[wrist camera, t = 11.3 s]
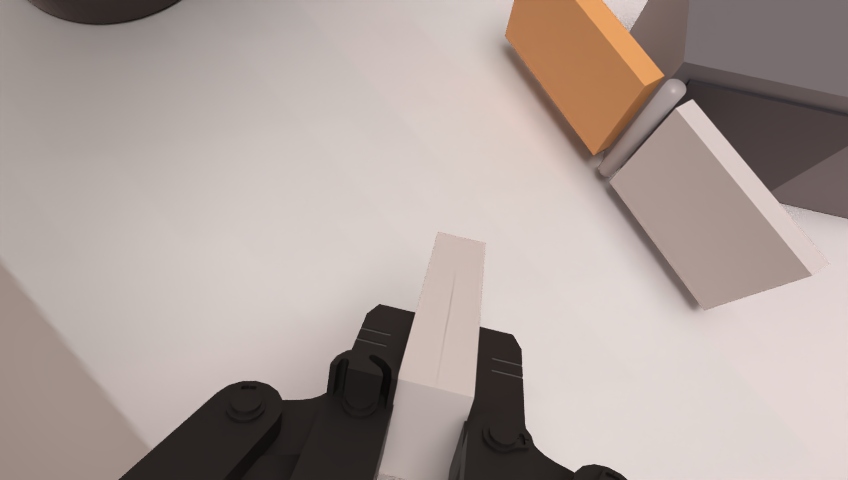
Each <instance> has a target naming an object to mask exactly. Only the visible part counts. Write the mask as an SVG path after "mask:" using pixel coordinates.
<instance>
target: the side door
mask: <svg viewBox="0 0 848 480" xmlns="http://www.w3.org/2000/svg"><path fill="white" fill-rule="evenodd" d="M505 36H506V38H507V39H508V41H509V42H510V43H511V45H512V46H513V47H514V49H515V50H516V51H517V53H518V54H519V55H520V57H521V58H522V59H523V61H524V62H525V63H526V65H527V66H528V68H529V69H530V70H531V72H532V73H533V74H534V76H535V77H536V78H537V80H538V81H539V82H540V84H541V85H542V86H543V88H544V89H545V91H546V92H547V93H548V95H549V96H550V97H551V99H552V100H553V101H554V103H555V104H556V105H557V107H558V108H559V109H560V111H561V112H562V113H563V115H564V116H565V118H566V119H567V120H568V122H569V123H570V124H571V126H572V127H573V128H574V130H575V131H576V132H577V134H578V135H579V136H580V138H581V139H582V140H583V142H584V143H585V145H586V146H587V147H588V149H589V150H590V151H591V153H592V154H593V155H595V154H597V153H599V152H601V151H603V150H605V149H607V148H608V147H610V146H611V144H612V143H613V142H614V140H615V139H616V138H617V137H618V135H619V134H620V133H621V131H622V130H623V129H624V128H625V126H626V125H627V124H628V122H629V121H630V120H631V119H632V117H633V116H634V115H635V113H636V112H637V111H638V110H639V108H640V107H641V106H642V104H643V103H644V102H645V101H646V99H647V98H648V97H649V95H650V94H651V93H652V92H653V90H654V89H655V88H656V86H657V85H658V84H659V83H660V81H661V80H662V79H663V77H664V76H665V75H664V74H663V73H662V72H661V71H660V69H659V68H658V67H657V66H656V65H655V63H654V62H653V61H652V60H651V59H650V57H649V56H648V55H647V54H646V53H645V51H644V50H643V49H642V48H641V46H640V45H639V44H638V43H637V42H636V40H635V39H634V38H633V37H632V36H631V34H630V33H629V32H628V31H627V30H626V28H625V27H624V26H623V25H622V24H621V22H620V21H619V20H618V19H617V18H616V16H615V15H614V14H613V13H612V12H611V10H610V9H609V8H608V7H607V5H606V4H605V3H604V2H603V1H602V0H514V3H513V7H512V11H511V15H510V19H509V22H508V26H507V30H506V34H505ZM685 93H686V86H685V84H684V83H683V82H682V81H680V80H678V79H669V80H667V81H666V83H665V84H664V85H663V86H662V88H661V89H660V90H659V91H658V93H657V94H656V95H655V96H654V98H653V99H652V100H651V101H650V103H649V104H648V105H647V106H646V108H645V109H644V110H643V111H642V113H641V114H640V115H639V116H638V118H637V119H636V120H635V122H634V123H633V124H632V125H631V127H630V128H629V129H628V130H627V132H626V133H625V134H624V135H623V137H622V138H621V139H620V140H619V142H618V143H617V144H616V145H615V147H614V148H613V149H612V150H611V152H610V153H609V154H608V155H607V157H606V158H605V159H604V160H603V162H602V163H601V164H600V166H599V171H600V173H601V174H602V175H603V176H606V177H610V176H612V175H613V174H614V173H615V172H616V171H617V170H618V169H619V168H620V166H621V165H622V164H623V163H624V162H625V161H626V160H627V159H628V157H629V156H630V155H631V154H632V153H633V152H634V151H635V150H636V148H637V147H638V146H639V145H640V144H641V143H642V142H643V141H644V139H645V138H646V137H647V136H648V135H649V134H650V133H651V132H652V130H653V129H654V128H655V127H656V126H657V125H658V124H659V123H660V121H661V120H662V119H663V118H664V117H665V116H666V115H667V114H668V112H669V111H670V110H671V109H672V108H673V107H674V106H675V105H676V103H677V102H678V101H679V100H680V99H681V98H682V97H683V96H684V94H685ZM610 184H611V185H612V186H613V188H614V189H615V190H616V192H617V193H618V194H619V196H620V197H621V198H622V200H623V201H624V203H625V204H626V205H627V207H628V208H629V209H630V211H631V212H632V213H633V215H634V216H635V217H636V219H637V220H638V222H639V223H640V224H641V226H642V227H643V228H644V230H645V231H646V232H647V234H648V235H649V236H650V238H651V239H652V241H653V242H654V243H655V245H656V246H657V247H658V249H659V250H660V251H661V253H662V254H663V255H664V257H665V258H666V259H667V261H668V262H669V264H670V265H671V266H672V268H673V269H674V270H675V272H676V273H677V274H678V276H679V277H680V278H681V280H682V281H683V283H684V284H685V285H686V287H687V288H688V289H689V291H690V292H691V293H692V295H693V296H694V297H695V299H696V300H697V302H698V303H699V304H700V306H701V307H702V308H703V310H706V309H709V308H713V307H716V306H719V305H722V304H725V303H728V302H731V301H734V300H737V299H741V298H744V297H747V296H750V295H753V294H756V293H759V292H762V291H765V290H769V289H772V288H775V287H778V286H781V285H784V284H787V283H790V282H794V281H797V280H800V279H803V278H806V277H809V276H812V275H814V274H815V273H817V272H818V271H820V270H822V269H823V268H825V267H826V266H828V265H829V264H830V263H829V262H828V261H827V260H826V258H825V257H824V256H823V255H822V254H821V252H820V251H819V250H818V249H817V248H816V246H815V245H814V244H813V243H812V242H811V240H810V239H809V238H808V237H807V236H806V234H805V233H804V232H803V231H802V230H801V228H800V227H799V226H798V225H797V224H796V223H795V221H794V220H793V219H792V218H791V217H790V215H789V214H788V213H787V212H786V211H785V209H784V208H783V207H782V206H781V205H780V203H779V202H778V201H777V200H776V199H775V197H774V196H773V195H772V194H771V193H770V191H769V190H768V189H767V188H766V187H765V185H764V184H763V183H762V182H761V181H760V179H759V178H758V177H757V176H756V175H755V173H754V172H753V171H752V170H751V169H750V167H749V166H748V165H747V164H746V163H745V161H744V160H743V159H742V158H741V157H740V155H739V154H738V153H737V152H736V151H735V149H734V148H733V147H732V146H731V145H730V143H729V142H728V141H727V140H726V139H725V137H724V136H723V135H722V134H721V133H720V131H719V130H718V129H717V128H716V127H715V125H714V124H713V123H712V122H711V121H710V119H709V118H708V117H707V116H706V115H705V113H704V112H703V111H702V110H701V109H700V107H699V106H698V105H697V104H696V103H695V101H694V100H693V99H692V100H690V101H688V102H686V103H684V104H683V105H681V106H679V107H677V108H675V109H674V111H673V112H672V113H671V114H670V115H669V116H668V117H667V118H666V119H665V121H664V122H663V123H662V124H661V125H660V126H659V127H658V128H657V129H656V131H655V132H654V133H653V134H652V135H651V136H650V137H649V138H648V139H647V141H646V142H645V143H644V144H643V145H642V146H641V147H640V148H639V149H638V151H637V152H636V153H635V154H634V155H633V156H632V157H631V158H630V160H629V161H628V162H627V163H626V164H625V165H624V166H623V167H622V168H621V170H620V171H619V172H618V173H617V174H616V175H615V176H614V177H613V178H612V180H611V181H610Z"/></svg>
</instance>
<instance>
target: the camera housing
mask: <svg viewBox="0 0 848 480" xmlns="http://www.w3.org/2000/svg"><path fill="white" fill-rule="evenodd" d="M629 33H630V34H631V36H632V37H633V38H634V39H635V40H636V42H637V43H638V44H639V45H640V46H641V48H642V49H643V50H644V51H645V53H646V54H647V55H648V56H649V57H650V59H651V60H652V61H653V62H654V63H655V65H656V66H657V67H658V68H659V69H660V71H661V72H662V73H663V74H664V75H665V76H664V77H663V79H662V80H661V81H660V83H659V84H658V85H657V86H656V88H655V89H654V90H653V92H652V93H651V94H650V95H649V97H648V98H647V99H646V101H645V102H644V103H643V104H642V106H641V107H640V108H639V110H638V111H637V112H636V113H635V115H634V116H633V117H632V119H631V120H630V121H629V122H628V124H627V125H626V126H625V128H624V129H623V130H622V131H621V133H620V134H619V135H618V137H617V138H616V139H615V140H614V142H613V143H612V144H611V146H610V147H608V148H607V149H605V152H604V159H605V158H606V157H607V155H608V154H609V153H610V152H611V150H612V149H613V148H614V147H615V145H616V144H617V143H618V142H619V140H620V139H621V138H622V137H623V135H624V134H625V133H626V132H627V130H628V129H629V128H630V127H631V125H632V124H633V123H634V122H635V120H636V119H637V118H638V116H639V115H640V114H641V113H642V111H643V110H644V109H645V108H646V106H647V105H648V104H649V103H650V101H651V100H652V99H653V98H654V96H655V95H656V94H657V93H658V91H659V90H660V89H661V88H662V86H663V85H664V84H665V83H666V81H667V80H669V79H678V80H680V81H682V82H683V83H684V84H685V86H686V93H685V94H684V96H683V97H682V98H681V99H680V100H679V101H678V102H677V103H676V105H675V106H674V107H673V108H672V109H671V110H670V111H669V112H668V114H667V115H666V116H665V117H664V118H663V119H662V120H661V121H660V123H659V124H658V125H657V126H656V127H655V128H654V129H653V130H652V132H651V133H650V134H649V135H648V136H647V137H646V138H645V139H644V141H643V142H642V143H641V144H640V145H639V146H638V147H637V148H636V150H635V151H634V152H633V153H632V154H631V155H630V156H629V157H628V159H627V160H626V161H625V162H624V163H623V164H622V165H621V166H620V167H623V166H624V165H625V164H626V163H627V162H628V161H629V160H630V158H631V157H632V156H633V155H634V154H635V153H636V152H637V151H638V149H639V148H640V147H641V146H642V145H643V144H644V143H645V142H646V141H647V139H648V138H649V137H650V136H651V135H652V134H653V133H654V132H655V131H656V129H657V128H658V127H659V126H660V125H661V124H662V123H663V122H664V121H665V119H666V118H667V117H668V116H669V115H670V114H671V113H672V112H673V111H674V109H675V108H677V107H679V106H681V105H683V104H684V103H686V102H688V101H690V100H692V99H693V100H694V101H695V103H696V104H697V105H698V106H699V107H700V109H701V110H702V111H703V112H704V113H705V115H706V116H707V117H708V118H709V119H710V121H711V122H712V123H713V124H714V125H715V127H716V128H717V129H718V130H719V131H720V133H721V134H722V135H723V136H724V137H725V139H726V140H727V141H728V142H729V143H730V145H731V146H732V147H733V148H734V149H735V151H736V152H737V153H738V154H739V155H740V157H741V158H742V159H743V160H744V161H745V163H746V164H747V165H748V166H749V167H750V169H751V170H752V171H753V172H754V173H755V175H756V176H757V177H758V178H759V179H760V181H761V182H762V183H763V184H764V185H765V187H766V188H767V189H768V190H769V191H770V193H771V194H772V195H773V196H774V197H775V199H776V200H777V201H778V202H779V203H783V204H787V205H792V206H796V207H800V208H805V209H809V210H814V211H818V212H822V213H827V214H831V215H835V216H840V217H844V218H848V0H648V2H647V4H646V5H645V7H644V9H643V10H642V12H641V14H640V15H639V17H638V19H637V20H636V22H635V24H634V25H633V27H632V29H631V31H630V32H629ZM604 159H603V160H604Z"/></svg>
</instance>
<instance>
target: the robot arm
mask: <svg viewBox="0 0 848 480" xmlns="http://www.w3.org/2000/svg"><path fill="white" fill-rule="evenodd" d="M28 1H30V2H31V3H32V4H34V5H35V6H36V7H38V8H40V9H41V10H43V11H45V12H47V13H49V14H51V15H54V16H57V17H59V18H63V19H66V20H70V21H76V22H83V23H115V22H122V21H128V20H132V19H136V18H140V17H143V16H146V15H149V14H152V13H154V12H157V11H159V10H161V9H163V8H165V7H167V6H169V5H171V4H173V3H175V2H176V1H178V0H28ZM485 245H486V243H483V242H479V241H474V240H470V239H466V238H461V237H457V236H453V235H448V234H444V233H440V232H438V233H437V237H436V240H435V244H434V248H433V251H432V255H431V259H430V262H429V266H428V269H427V273H426V277H425V280H424V284H423V288H422V291H421V295H420V299H419V302H418V306H417V310H416V313H415V312H410V311H406V310H402V309H398V308H394V307H390V306H385V305H381V304H379V305H378V306H376V307H375V308H374V309H372V310H371V311H370V312H368V313H367V315H366V317H365V320H364V322H363V324H362V327H361V329H360V331H359V334H358V336H357V339H356V341H355V343H354V346H353V348H352V350H347V351H345V352H343V353H341V354H339V355H338V356H336V358H335V359H334V360H333V361H332V362H331V364H330V371H329V379H328V387H327V393H325V394H323V395H321V396H318V397H315V398H312V399H304V400H282V398H281V397H280V395H279V393H278V391H277V390H275V389H274V388H273V387H271V386H270V385H268V384H265V383H261V382H258V381H242V382H238V383H235V384H231V385H228V386H227V387H225V388H224V389H222V390H220V391H219V392H217V393H216V394H215V395H214V396H213V397H212V398H210V399H209V400H208V401H207V402H206V403H205V404H204V405H203V406H201V407H200V408H199V409H198V410H197V411H196V412H195V413H193V414H192V415H191V416H190V417H189V418H188V419H187V420H186V421H184V422H183V423H182V424H181V425H180V426H179V427H178V428H177V429H175V430H174V431H173V432H172V433H171V434H170V435H169V436H167V437H166V438H165V439H164V440H163V441H162V442H161V443H160V444H158V445H157V446H156V447H155V448H154V449H153V450H152V451H150V452H149V453H148V454H147V455H146V456H145V457H144V458H143V459H141V460H140V461H139V462H138V463H137V464H136V465H135V466H134V467H132V468H131V469H130V470H129V471H128V472H127V473H126V474H124V475H123V476H122V477H121V478H120V479H119V480H377V477H378V473H381V474H385V475H389V476H392V477H396V478H400V479H404V480H627V479H626V478H625V477H624V476H623V475H621V474H620V473H618V472H616V471H614V470H612V469H610V468H608V467H605V466H600V465H596V464H593V465H586V466H582V467H581V468H580V469H579V470H577V471H576V472H575V473H574V472H572V471H571V470H569V469H567V468H565V467H563V466H561V465H559V464H558V463H556V462H554V461H553V460H551V459H549V458H548V457H546V456H545V455H544V454H543V453H542V452H540V451H539V450H538V449H537V448H536V446H535V445H534V443H533V440H532V436H531V435H530V433H529V432H528V431H527V429H526V426H525V414H524V393H523V379H522V377H523V372H522V351H521V348H520V346H519V344H518V343H517V341H516V339H515V338H514V336H513V335H512V334H508V333H503V332H499V331H495V330H491V329H487V328H483V327H480V313H481V299H482V286H483V272H484V259H485Z"/></svg>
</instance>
